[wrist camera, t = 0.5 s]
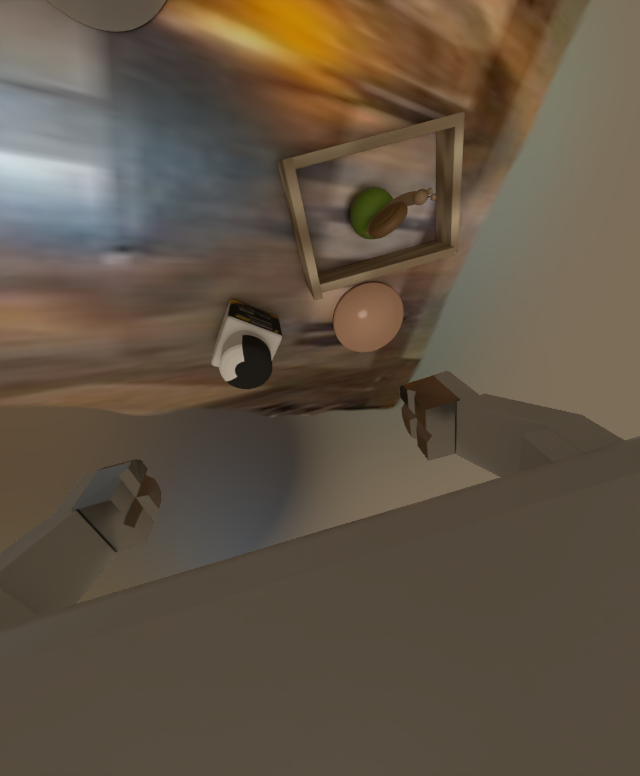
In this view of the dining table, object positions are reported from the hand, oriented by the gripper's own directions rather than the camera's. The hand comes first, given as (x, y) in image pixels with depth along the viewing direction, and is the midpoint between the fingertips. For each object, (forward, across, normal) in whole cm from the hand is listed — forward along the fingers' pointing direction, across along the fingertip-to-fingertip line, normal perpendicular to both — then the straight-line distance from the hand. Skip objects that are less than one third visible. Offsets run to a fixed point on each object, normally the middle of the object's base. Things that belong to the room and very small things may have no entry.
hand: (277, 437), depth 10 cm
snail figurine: (+36, -15, -4) cm, 39 cm away
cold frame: (+36, -15, -4) cm, 39 cm away
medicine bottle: (+37, +5, +7) cm, 38 cm away
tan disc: (+37, -13, +10) cm, 41 cm away
